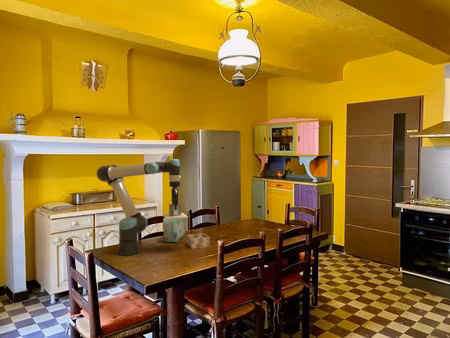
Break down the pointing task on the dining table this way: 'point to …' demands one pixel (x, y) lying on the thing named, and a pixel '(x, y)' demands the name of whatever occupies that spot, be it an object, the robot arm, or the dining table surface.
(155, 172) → the robot arm
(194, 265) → the dining table surface
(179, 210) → the lid
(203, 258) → the dining table surface
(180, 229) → the lunch box
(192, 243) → the crate
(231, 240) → the dining table surface
